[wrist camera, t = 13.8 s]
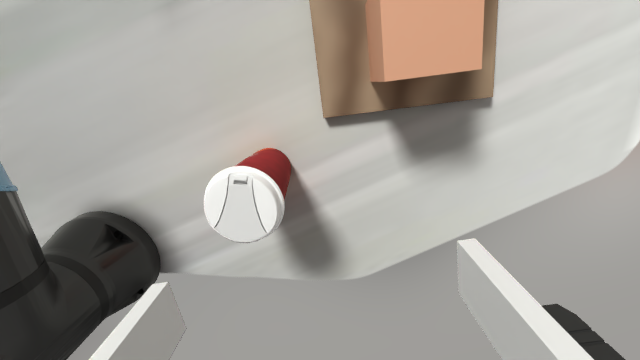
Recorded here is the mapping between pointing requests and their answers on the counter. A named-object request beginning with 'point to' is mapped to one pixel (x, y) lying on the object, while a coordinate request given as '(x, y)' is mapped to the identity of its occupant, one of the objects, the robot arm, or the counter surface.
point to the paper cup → (249, 196)
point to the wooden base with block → (365, 96)
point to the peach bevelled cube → (423, 37)
